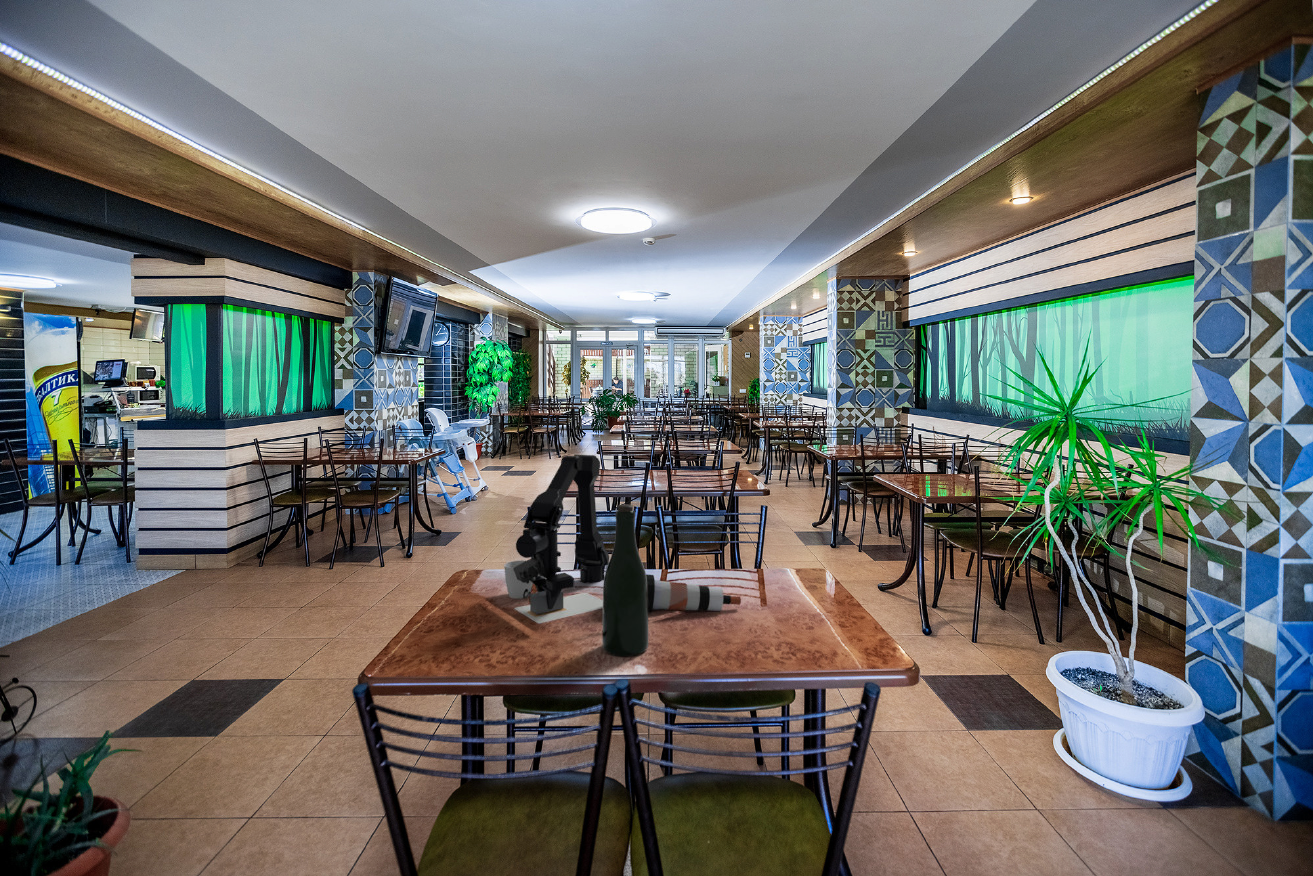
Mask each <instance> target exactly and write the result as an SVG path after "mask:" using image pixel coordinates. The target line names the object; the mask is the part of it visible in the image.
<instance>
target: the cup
mask: <svg viewBox="0 0 1313 876" xmlns="http://www.w3.org/2000/svg"><path fill="white" fill-rule="evenodd" d="M524 561H525V559H524V560H523V559H522V560H512V561H508V562H506V563H504V565H503V566H504V575H505V584H506V590H507V593H508V596H509V597H510V598H511V599H515V600H516V599H525V598H528V597H529V598H530V594H532V590H533V585H534V584H533V583H532V582H531V581H528V582H526V583H522V582H521V581H520V580H517V578H516V575H515V572H514V570H513V568H514V567H516V566H517V565H519V564H521V563H523V562H524Z"/></svg>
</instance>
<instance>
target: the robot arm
mask: <svg viewBox="0 0 1313 876" xmlns="http://www.w3.org/2000/svg"><path fill="white" fill-rule="evenodd" d="M600 468H601V461H600V459H599V458H598V457H597V456H596V455H595V454H574V455H565V456H562V458H561V460H560V465H559V467H558V469H557V470H556V472H555V475H554V476H553V478H552V480H551V482H550V483H549V485H548V487H547V489H546V490H544V491H543V492H541V493H540V494H538V495H537V496H536V498H535V499H534V500H533V501H532V503H531V505H530V506H529V510H528V511H527V512H528V513H527V516H526V519H525V522H524V525H523V528H524V529H523V530H522V535H520V536H519V537H518V538H517V540H516V543H515V550H516V552H517V554H518V555H519V556H521V557H522V558H524V559H527V560H524V562H523V563H521V564H519V565H517V566H516V567H514V568H513V570H514V572H515V575H516V578H517V580H520V581H521V582H522V583H526V582H528V581H531V582H532V583H533V585H534V587H535V588H536V591H537V592H542V591H546V598H547V605H548V609H549V610H550V609H553V607H554V605H555V602H556V600H557V598H558V596H559V594H560V592H561V591H563V590H564V589H568V588H573V587H574V586H575V578H574V577H573V576H572V575H571V574H569V573H567V572H562V568H561V567H560V566H558V565H559V561H558V557H561V556H562V555H561V554H562V552H561V551H559V550H558V529H560V528H561V524H560V523H559V522H560V520H561V517H562V515H563V511H564V509H565V508H564V504H563V501H564V499H565V497H566V495H567V492H568V490H569V489H570V487H571V485H572V483H573V482H574V483H575V484H576V486H577V495H578V496H577V497H578V499H577V500H578V511H579V513H578V514H579V527H580V534H579V535H578V537H577V539H576V540H575V542H574V555H575V560H576V565H580V566H581V569H580V570H579V572H580V577H579V579H580V580H579V582H580V583H583V584H589V583H590V584H594V583H595V584H596V583H600V582H602V581H604V577H605V566H608V563H609V561H610V554H609V553H608V551H607V549H606V547H605V546H604V545H605V544H604V538H603V537H602V536H601V534H600V533H599V531H598V526H597V525H598V523H597V510H596V509H597V508H596V506H597V505H596V493H595V492H596V491H595V483H596V480H597V479H598V477H599V476H600ZM528 558H530V559H528ZM537 592H536V593H537Z"/></svg>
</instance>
